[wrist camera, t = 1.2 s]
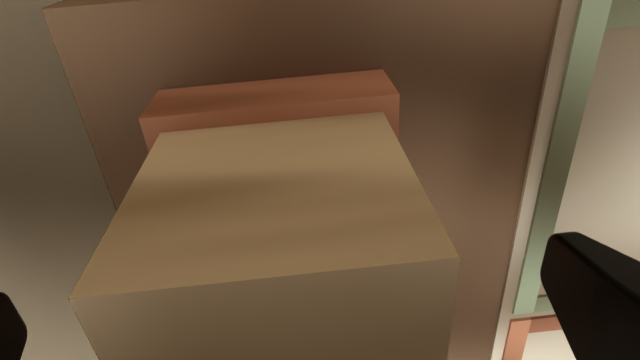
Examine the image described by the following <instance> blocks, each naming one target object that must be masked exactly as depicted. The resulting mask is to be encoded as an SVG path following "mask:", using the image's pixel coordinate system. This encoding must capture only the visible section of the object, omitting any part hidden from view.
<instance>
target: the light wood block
mask: <svg viewBox="0 0 640 360" xmlns="http://www.w3.org/2000/svg"><path fill="white" fill-rule="evenodd" d="M399 101H400V94H399V92H398V91H397V89H396V88H395V86H394V85H393V83H392V82H391V80H390V79H389V77H388V76H387V74H386V73H385V71H384V70H383V69H377V70H367V71H356V72H345V73H335V74H324V75H313V76H302V77H292V78H281V79H270V80H260V81H249V82H238V83H228V84H217V85H206V86H195V87H185V88H174V89H163V90H158V92H157V93H156V95H155V96H154V97H153V99H152V100H151V102H150V103H149V105H148V106H147V107H146V109H145V110H144V112H143V113H142V115H141V116H140V117H139V122H140V125H141V129H142V132H143V135H144V138H145V142H146V145H147V148H148V152H149V154H148V156H147V158H146V159H145V161H144V163H143V165H142V167H141V168H140V170H139V172H138V174H137V176H136V178H135V179H134V181H133V183H132V185H131V187H130V188H129V190H128V192H127V194H126V196H125V197H124V199H123V201H122V203H121V205H120V206H119V208H118V210H117V212H116V214H115V215H114V217H113V219H112V221H111V223H110V224H109V226H108V228H107V230H106V232H105V233H104V235H103V237H102V239H101V241H100V243H99V244H98V246H97V248H96V250H95V252H94V253H93V255H92V257H91V259H90V261H89V262H88V264H87V266H86V268H85V270H84V271H83V273H82V275H81V277H80V279H79V280H78V282H77V284H76V286H75V288H74V289H73V291H72V293H71V295H70V297H69V298H68V300H69V302H70V304H71V306H72V308H73V310H74V312H75V314H76V316H77V318H78V320H79V321H80V323H81V325H82V327H83V329H84V331H85V333H86V335H87V337H88V339H89V341H90V343H91V345H92V347H93V349H94V351H95V353H96V355H97V357H98V359H99V360H447V359H448V350H449V342H450V334H451V325H452V317H453V309H454V300H455V292H456V283H457V275H458V267H459V258H460V257H459V255H458V253H457V251H456V249H455V248H454V246H453V244H452V242H451V240H450V238H449V236H448V234H447V232H446V230H445V229H444V227H443V225H442V223H441V221H440V219H439V217H438V215H437V213H436V211H435V210H434V208H433V206H432V204H431V202H430V200H429V198H428V196H427V194H426V192H425V191H424V189H423V187H422V185H421V183H420V181H419V179H418V177H417V175H416V173H415V172H414V170H413V168H412V166H411V164H410V162H409V160H408V158H407V156H406V154H405V152H404V151H403V149H402V147H401V145H400V143H399Z"/></svg>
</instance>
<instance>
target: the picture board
mask: <svg viewBox="0 0 640 360" xmlns="http://www.w3.org/2000/svg"><path fill="white" fill-rule="evenodd" d="M41 11H42V13H43V16H44V19H45V21H46V24H47V27H48V29H49V32H50V35H51V37H52V40H53V43H54V45H55V48H56V51H57V53H58V56H59V59H60V61H61V64H62V67H63V69H64V72H65V75H66V77H67V80H68V83H69V85H70V88H71V91H72V93H73V96H74V99H75V101H76V104H77V107H78V109H79V112H80V115H81V117H82V120H83V123H84V125H85V128H86V131H87V133H88V136H89V139H90V141H91V144H92V147H93V149H94V152H95V155H96V157H97V160H98V163H99V165H100V168H101V171H102V173H103V176H104V179H105V181H106V184H107V187H108V189H109V192H110V195H111V197H112V200H113V203H114V206H115V208H116V211H117V210H118V208H119V206H120V205H121V203H122V201H123V199H124V197H125V196H126V194H127V192H128V190H129V188H130V187H131V185H132V183H133V181H134V179H135V178H136V176H137V174H138V172H139V170H140V168H141V167H142V165H143V163H144V161H145V159H146V158H147V156H148V154H149V152H148V148H147V145H146V142H145V138H144V135H143V132H142V129H141V125H140V122H139V117H140V116H141V115H142V113H143V112H144V110H145V109H146V107H147V106H148V105H149V103H150V102H151V100H152V99H153V97H154V96H155V95H156V93H157V92H158V90H163V89H174V88H185V87H195V86H206V85H217V84H228V83H238V82H249V81H260V80H270V79H281V78H292V77H302V76H313V75H324V74H335V73H345V72H356V71H367V70H377V69H383V70H384V71H385V73H386V74H387V76H388V77H389V79H390V80H391V82H392V83H393V85H394V86H395V88H396V89H397V91H398V92H399V94H400V101H399V143H400V145H401V147H402V149H403V151H404V152H405V154H406V156H407V158H408V160H409V162H410V164H411V166H412V168H413V170H414V172H415V173H416V175H417V177H418V179H419V181H420V183H421V185H422V187H423V189H424V191H425V192H426V194H427V196H428V198H429V200H430V202H431V204H432V206H433V208H434V210H435V211H436V213H437V215H438V217H439V219H440V221H441V223H442V225H443V227H444V229H445V230H446V232H447V234H448V236H449V238H450V240H451V242H452V244H453V246H454V248H455V249H456V251H457V253H458V255H459V257H460V258H459V267H458V275H457V283H456V292H455V300H454V309H453V317H452V325H451V334H450V342H449V350H448V359H447V360H576V359H575V356H574V354H573V352H572V350H571V348H570V346H569V343H568V341H567V339H566V337H565V334H564V332H563V330H562V328H561V326H560V323H559V321H558V319H557V317H556V314H555V312H554V310H553V308H552V305H551V303H550V301H549V299H548V297H547V294H546V292H545V290H544V288H543V285H542V282H541V278H540V269H541V265H542V261H543V257H544V253H545V249H546V244H547V241H548V238H549V237H550V236H551V235H553V234H555V233H564V232H579V233H581V234H583V235H585V236H587V237H590V238H592V239H594V240H596V241H598V242H600V243H602V244H604V245H606V246H609V247H611V248H613V249H615V250H617V251H619V252H621V253H623V254H625V255H627V256H630V257H632V258H634V259H636V260H638V261H640V0H64V1H61V2H58V3H56V4H53V5H51V6H48V7H46V8H43V9H41Z"/></svg>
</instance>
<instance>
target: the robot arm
mask: <svg viewBox="0 0 640 360" xmlns="http://www.w3.org/2000/svg"><path fill="white" fill-rule="evenodd" d="M540 278H541V282H542V285H543V288H544V290H545V292H546V294H547V297H548V299H549V301H550V303H551V305H552V308H553V310H554V312H555V314H556V317H557V319H558V321H559V323H560V326H561V328H562V330H563V332H564V334H565V337H566V339H567V341H568V343H569V346H570V348H571V350H572V352H573V354H574V356H575V359H576V360H640V261H638V260H636V259H634V258H632V257H630V256H627V255H625V254H623V253H621V252H619V251H617V250H615V249H613V248H611V247H609V246H606V245H604V244H602V243H600V242H598V241H596V240H594V239H592V238H590V237H587V236H585V235H583V234H581V233H579V232H564V233H555V234H553V235H551V236H550V237H549V238H548V241H547V244H546V249H545V253H544V257H543V261H542V265H541V269H540ZM26 340H27V328H26V325H25V323H24V321H23V320H22V318H21V316H20V315H19V313H18V311H17V310H16V308H15V306H14V305H13V303H12V301H11V299H10V298H9V297H8V295H6V294H5V293H3V292H0V360H20V359H21V356H22V353H23V350H24V347H25V344H26Z"/></svg>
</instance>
